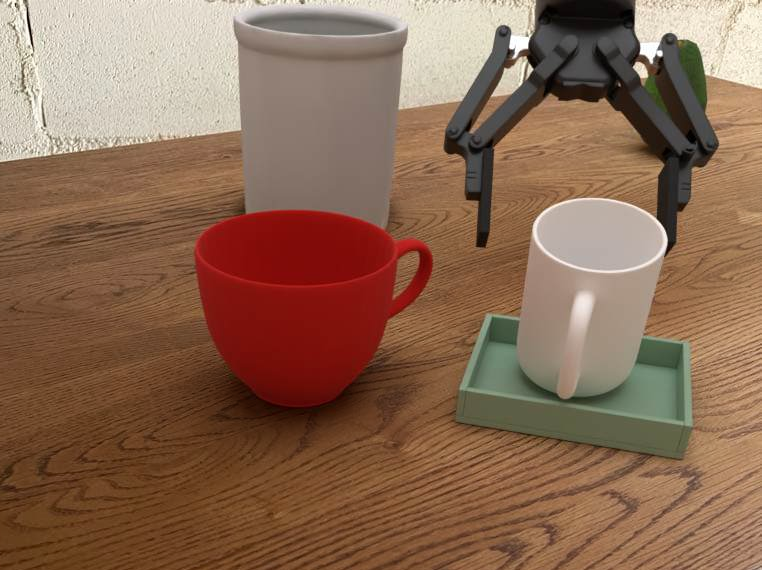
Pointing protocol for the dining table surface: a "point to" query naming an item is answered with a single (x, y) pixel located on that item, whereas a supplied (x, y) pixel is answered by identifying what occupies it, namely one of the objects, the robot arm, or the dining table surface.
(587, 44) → the robot arm
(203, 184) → the dining table surface
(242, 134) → the utensil holder
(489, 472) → the dining table surface
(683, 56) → the avocado
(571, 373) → the cup
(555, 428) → the sage green tray
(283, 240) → the ceramic cup
